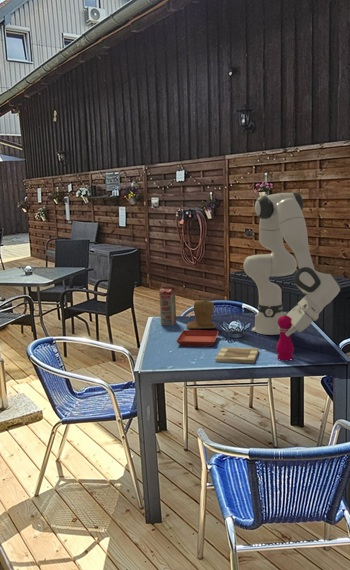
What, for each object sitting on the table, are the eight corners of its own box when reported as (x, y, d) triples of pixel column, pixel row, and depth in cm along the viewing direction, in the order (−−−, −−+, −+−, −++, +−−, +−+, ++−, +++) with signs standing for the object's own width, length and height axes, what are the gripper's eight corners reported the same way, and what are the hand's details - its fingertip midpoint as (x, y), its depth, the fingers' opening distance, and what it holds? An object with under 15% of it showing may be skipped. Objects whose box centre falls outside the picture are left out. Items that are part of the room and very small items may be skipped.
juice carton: (164, 321, 284) (163, 283, 280) (176, 322, 282) (174, 283, 278) (160, 324, 278) (159, 285, 274) (172, 325, 276) (170, 285, 272)
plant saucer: (214, 348, 234) (214, 341, 233) (176, 347, 237) (175, 340, 237) (219, 337, 251) (219, 330, 250) (183, 336, 255) (182, 330, 254)
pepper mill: (281, 355, 219) (281, 309, 215) (296, 358, 214) (297, 311, 211) (273, 359, 213) (272, 313, 210) (288, 362, 209) (288, 315, 205)
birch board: (222, 350, 229) (222, 346, 229) (258, 351, 224) (258, 348, 224) (215, 361, 214) (215, 357, 213) (253, 363, 209) (253, 359, 209)
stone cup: (215, 325, 273) (214, 297, 271) (216, 330, 262) (215, 302, 259) (187, 325, 274) (186, 298, 272) (186, 331, 262) (185, 303, 260)
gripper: (297, 298, 219) (275, 320, 221) (307, 308, 199) (282, 333, 201) (308, 307, 220) (285, 330, 222) (319, 319, 200) (294, 344, 202)
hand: (284, 331), depth 212 cm, fingers open, 8 cm apart
